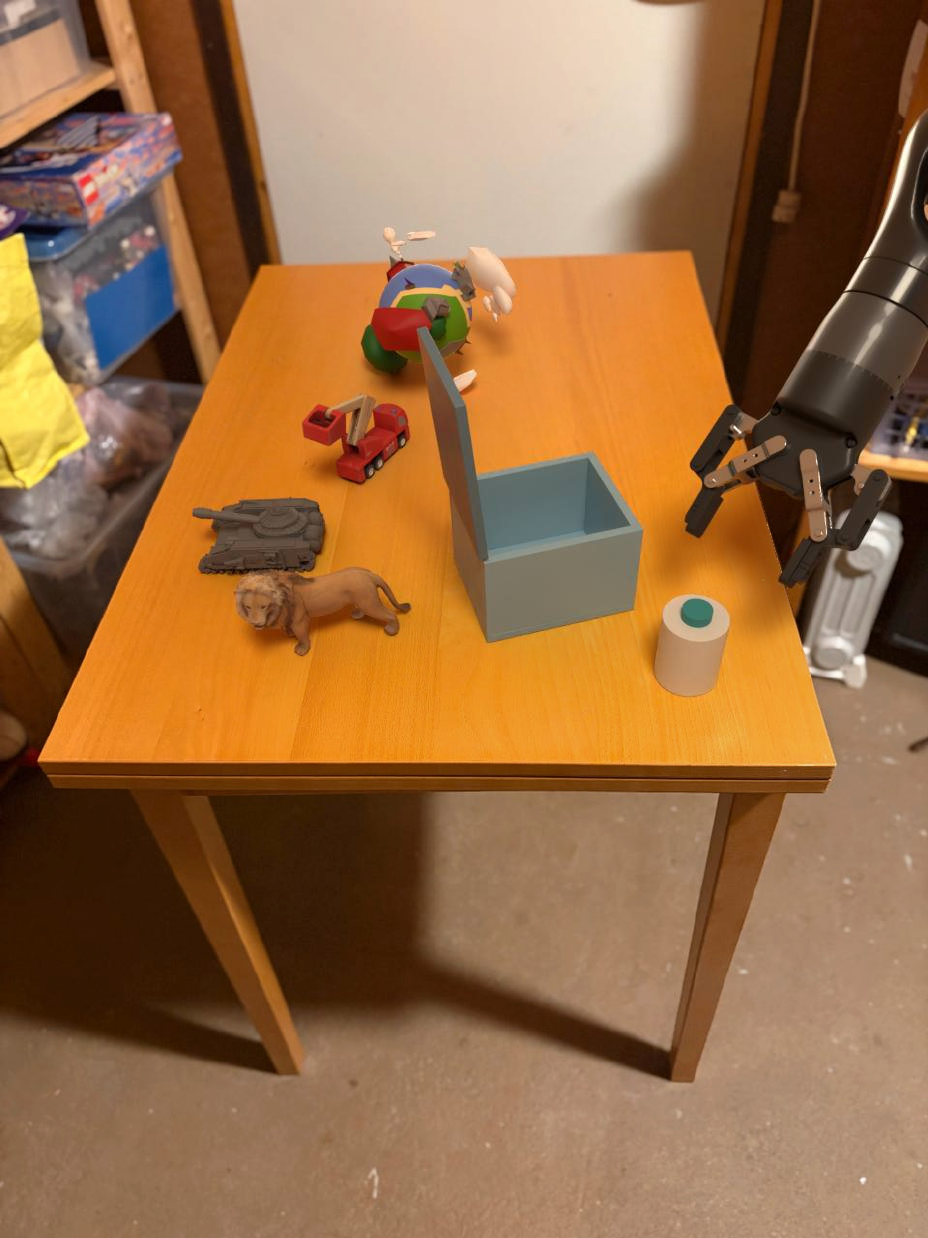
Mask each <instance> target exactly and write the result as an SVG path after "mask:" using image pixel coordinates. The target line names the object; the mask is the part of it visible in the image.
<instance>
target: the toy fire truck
mask: <svg viewBox="0 0 928 1238" xmlns="http://www.w3.org/2000/svg"><path fill="white" fill-rule="evenodd" d="M376 403H377V399H376V398H375V397H372V396H370V395H367V394H363V393H361V392H357V393H356V396H354V397H352V398H349V399H347V400H345V401H342V402H340V403H337V404H335V405H334V406H331V407H329V406H327V405H324V404H321V403H317V404H316V405H315V407H313V409H312V410H311V411H310V412H309V413H308V414H307V416H306V417H305V418H304V420H302V421H301V427H302V433H303V434H302V435H303V438H304V439H307V440H310V441H312V442H316V443H318V444H322V445H324V446H327V447H331V446H332V445H333V444H335V443H336V442H338V441H339V440H340V439H341V447H342V452H343V453H342V455H340V456H339V457H338V458H337V459H336V460H335V467H336V471H337V476H338V477H342V478H343V479H344V478H345V479H348V480H350V481H354V482H356V483H363V482H365V480H366V478H368V479H371V478H372V477H373V476H374V474H375V470H380V469H382V467H383V466H384V461H387V460H388V459H389V458H390V457H391V456H392V455H393V454H394V453H395V452H397V450H398V449H399V448H404V447H405V445H406V443H407V440H408V439H410V437H411V435H410V434H411V431H410V426H409V418H408V414H407V412H406V411H405V410H404V408H402V407H401V406H399V405H398V404H395V403H390V402H389V403H387V402H386V403H379V404H378V405H376ZM350 413H351V417H350V420H349V427H348V431H347V415H348V414H350ZM372 416H373V425H374V426H373V427H372V428H371V429H369V430H368V427H369V424H370V420H371V418H372ZM367 430H368V431H367Z"/></svg>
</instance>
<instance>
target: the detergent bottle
mask: <svg viewBox="0 0 928 1238" xmlns="http://www.w3.org/2000/svg"><path fill="white" fill-rule="evenodd" d="M730 626H731V616H730V614H729V611H728V610H727V609H726V607H725V606H724V605H723V604H722V603H720V602H719V601H717V600H715V599H714V598H712V597H709V596H706V595H702V594H693V593H689V594H683V595H678V596H676V597H674V598H672V599H670V600H669V601H668V602H667V603H666V604H665V606H664V607H663V609H662V613H661V619H660V626H659V634H658V641H657V647H656V652H655V653H656V654H655V660H654V665H653V666H654V667H653V674H654V677H655V679H656V681H657V682H658V684H659V685H660V686H661V688H663V689H664V690H666V691H667V692H670V693H672V694H674V695H677V696H681V697H687V698H689V697H691V698H692V697H698V696H702V695H704V694H707V693H709V692H711V690H712V689H714V688H715V686H716V684H717V682H718V679H719V675H720V671H721V665H722V661H723V656H724V653H725V648H726V645H727V644H726V643H727V639H728V635H729V631H730Z"/></svg>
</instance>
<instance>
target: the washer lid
mask: <svg viewBox="0 0 928 1238" xmlns="http://www.w3.org/2000/svg"><path fill="white" fill-rule="evenodd" d="M417 335H418V340H419V346H420V351H421V356H422V362H421V363H422V367H423V373H424V377H425V383H426V389H427V395H428V400H429V405H430V410H431V416H432V423H433V427H434V432H435V438H436V443H437V450H438V454H439V461H440V466H441V471H442V476H443V480H444V481H445V483H446V487H447V489H448V492H449V491H450V493H451V495H452V498H453V500H454V502H455V505H456V507H457V509H458V512H459V514H460V516H461V519H462V521H463V523H464V526H465V528H466V530H467V533H468V535H469V537H470V540H471V542H472V544H473V547H474V549H475V551H476V554H477V556H478V558H479V560H483V559H487V558H489V556H488V549H487V542H486V536H485V529H484V522H483V516H482V509H481V502H480V496H479V489H478V482H477V476H476V475H477V469H476V463H475V456H474V449H473V444H472V443H473V442H472V437H471V430H470V424H469V417H468V409H467V404H466V402H465V399H463V396H462V394H461V391H459V390H458V388H457V386H456V384H455V382H454V380H453V379H454V377H453V376H452V375H451V373H450V370H449V369H448V367H447V364H446V363H445V361H444V360H445V359H443V358H442V356H441V354H440V352H439V350H438V349H437V347H436V345H435V343H434V341H433V339H432V337H431V335H430V333H429V331H428V329H427V327H426V326H425V327H421V328H417Z"/></svg>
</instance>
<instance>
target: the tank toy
mask: <svg viewBox="0 0 928 1238" xmlns="http://www.w3.org/2000/svg"><path fill="white" fill-rule="evenodd" d="M191 516H192V517H193V518H196V519H200V520H212V522H211V525H210V527H211V529H212V530H213V531H217V532H218V533H217V536H216V540H215V543H214V545H212V546H210V550H209V551H208V553H205V554H204V555H203V556H202V557H201V559H200V561H199V562H198V566H197V569H198V571H199V572H201V573H203V572H205V574H207V575H208V574H210V572H211V574H212V575H213V574H214V575H215V574H217V573H218V572H219V574H225V571H226V573H227V574H233V571H234V573H235V574H240V572H242V574H248V572H250V573H252V572H256V571H262V570H270V569H272V570H273V571H275V570H277V571H280V570H283V571H285V572H288V571H289V572H290V573H296V570H297V572H298V573H304V572H305V570H306V572H309V571H311V569H313V568H314V565H315V560H316V554H317V552H319V551H320V549H321V548H322V545H323V534H324V533H325V531H326V521H325V518H324V513H322V512H321V509H320V505H319V502H318V501H315V500H312V499H309V498H307V497H291V496H289V497H278V498H256V499H255V498H253V499H251V498H249V499H240V500H238V503H233V504H228V505H224V506H222V507H221V510H214V509H212V508H207V507H200V506H198V507H193V508H192V514H191Z"/></svg>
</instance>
